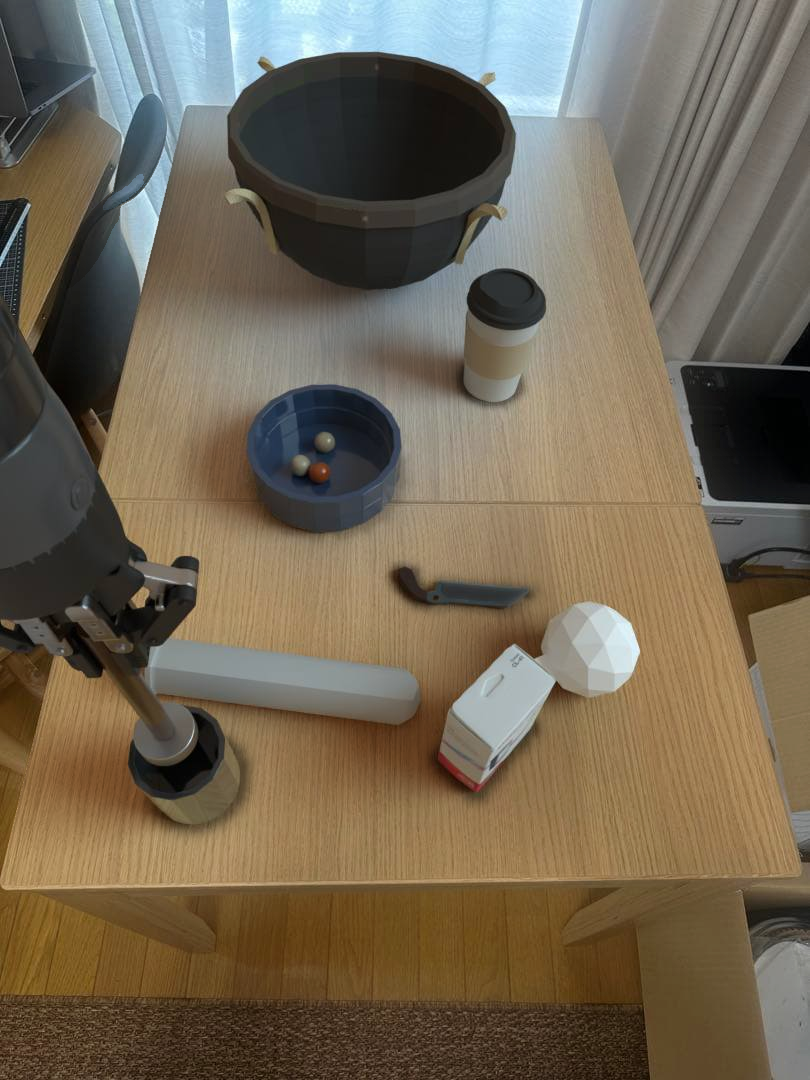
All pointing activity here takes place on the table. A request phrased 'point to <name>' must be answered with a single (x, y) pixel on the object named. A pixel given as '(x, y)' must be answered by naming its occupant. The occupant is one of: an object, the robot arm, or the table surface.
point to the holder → (191, 776)
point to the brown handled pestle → (149, 712)
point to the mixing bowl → (325, 457)
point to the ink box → (493, 716)
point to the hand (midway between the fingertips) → (116, 661)
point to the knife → (462, 592)
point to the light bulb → (589, 649)
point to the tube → (282, 681)
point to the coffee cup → (500, 331)
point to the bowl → (370, 164)
